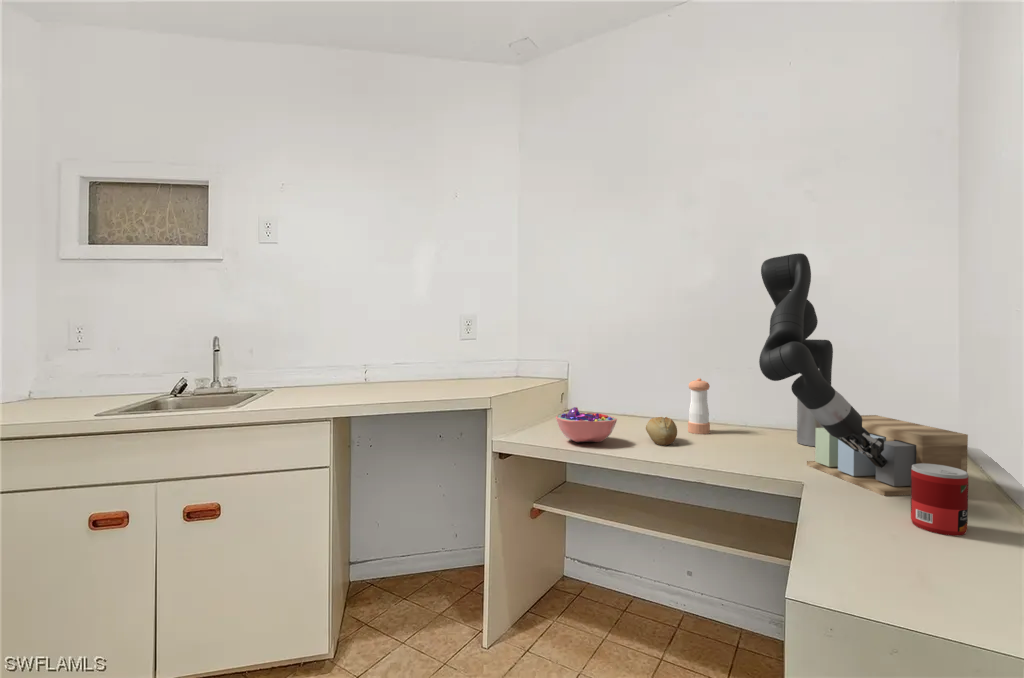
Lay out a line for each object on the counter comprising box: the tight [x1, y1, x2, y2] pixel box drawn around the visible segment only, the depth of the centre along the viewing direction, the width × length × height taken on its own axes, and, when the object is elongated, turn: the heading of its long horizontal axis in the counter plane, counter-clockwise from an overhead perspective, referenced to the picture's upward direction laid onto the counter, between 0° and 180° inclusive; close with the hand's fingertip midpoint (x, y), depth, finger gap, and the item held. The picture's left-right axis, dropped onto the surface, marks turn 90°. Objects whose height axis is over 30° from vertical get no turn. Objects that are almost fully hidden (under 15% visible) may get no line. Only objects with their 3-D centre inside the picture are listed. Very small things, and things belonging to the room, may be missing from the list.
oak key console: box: [806, 414, 969, 497], centre depth 122 cm, size 25×20×13 cm
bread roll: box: [645, 416, 678, 447], centre depth 162 cm, size 10×15×8 cm, turn 176°
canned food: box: [910, 463, 969, 537], centre depth 91 cm, size 8×8×11 cm
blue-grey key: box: [838, 434, 886, 476], centre depth 121 cm, size 5×10×9 cm, turn 96°
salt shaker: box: [687, 377, 711, 435], centre depth 176 cm, size 7×7×19 cm
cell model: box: [555, 406, 618, 443], centre depth 161 cm, size 17×20×11 cm
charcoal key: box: [876, 441, 916, 486], centre depth 114 cm, size 5×10×9 cm, turn 96°
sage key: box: [814, 428, 838, 467], centre depth 129 cm, size 5×10×9 cm, turn 96°
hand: (882, 464), depth 113 cm, fingers closed
